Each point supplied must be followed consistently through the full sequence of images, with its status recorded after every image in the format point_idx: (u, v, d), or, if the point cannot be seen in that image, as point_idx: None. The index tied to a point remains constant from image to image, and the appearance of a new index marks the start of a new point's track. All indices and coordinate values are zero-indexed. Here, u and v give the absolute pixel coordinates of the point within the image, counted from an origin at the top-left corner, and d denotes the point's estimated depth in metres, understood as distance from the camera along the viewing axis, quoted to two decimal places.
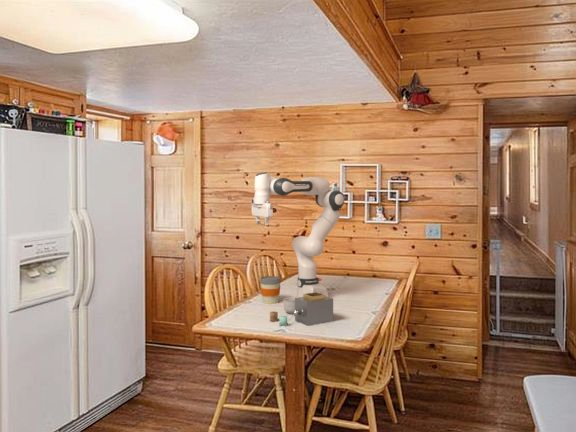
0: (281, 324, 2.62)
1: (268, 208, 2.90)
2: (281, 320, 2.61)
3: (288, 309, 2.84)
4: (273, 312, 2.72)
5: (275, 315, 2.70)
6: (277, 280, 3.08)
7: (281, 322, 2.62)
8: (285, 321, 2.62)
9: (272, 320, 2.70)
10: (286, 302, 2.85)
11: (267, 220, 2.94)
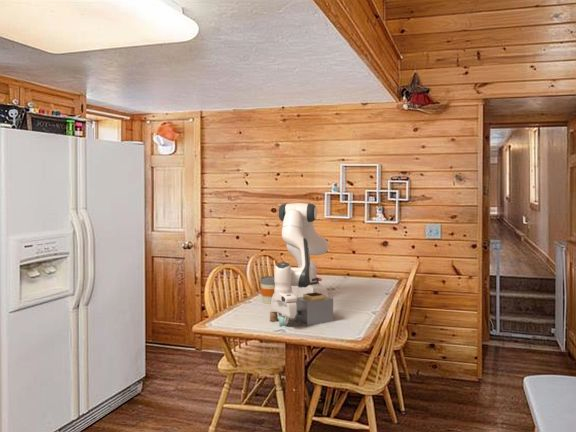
0: (281, 324, 2.62)
1: None
2: (281, 320, 2.61)
3: None
4: (273, 312, 2.72)
5: (275, 315, 2.70)
6: None
7: (281, 322, 2.62)
8: None
9: (272, 320, 2.70)
10: None
11: None
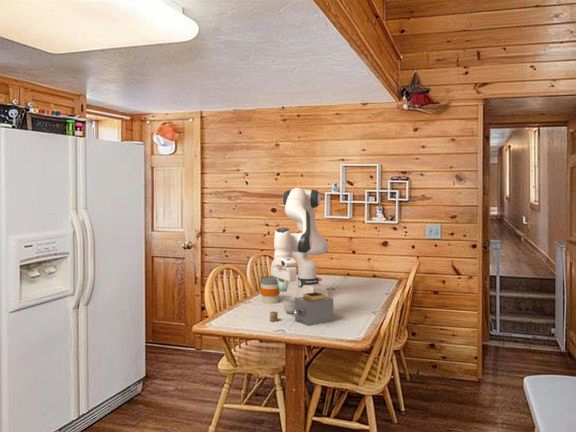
0: (281, 289, 2.60)
1: None
2: (281, 285, 2.60)
3: (288, 309, 2.84)
4: (273, 312, 2.72)
5: (275, 315, 2.70)
6: None
7: (281, 287, 2.60)
8: None
9: (272, 320, 2.70)
10: (286, 302, 2.85)
11: None
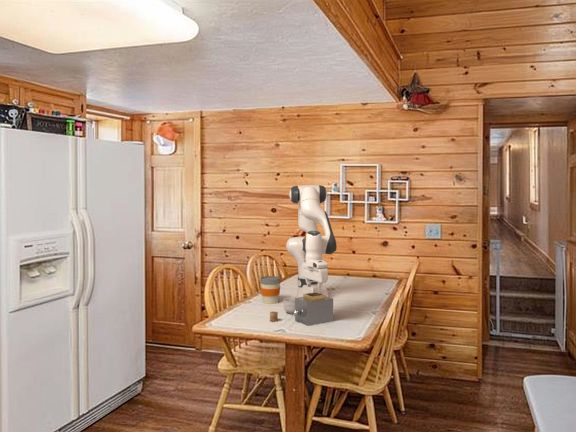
0: None
1: None
2: None
3: (288, 309, 2.84)
4: (273, 312, 2.72)
5: (275, 315, 2.70)
6: (277, 280, 3.08)
7: None
8: None
9: (272, 320, 2.70)
10: (286, 302, 2.85)
11: None
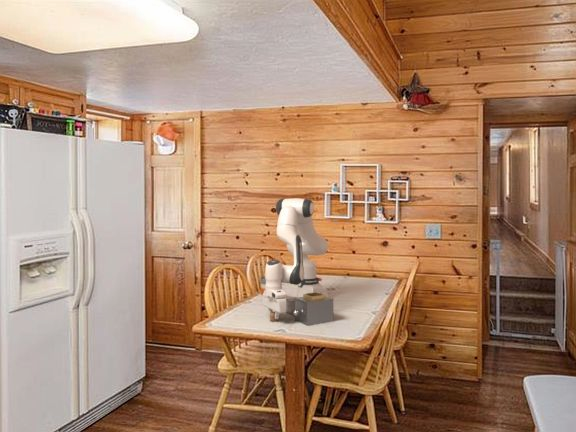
0: None
1: None
2: None
3: (288, 309, 2.84)
4: (273, 312, 2.72)
5: None
6: None
7: None
8: None
9: (272, 320, 2.70)
10: (286, 302, 2.85)
11: None
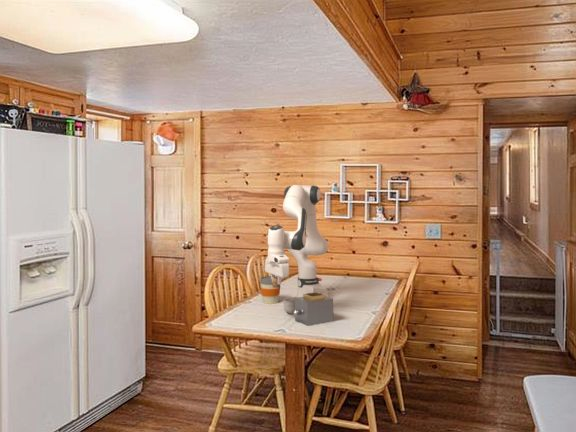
0: None
1: None
2: None
3: (288, 309, 2.84)
4: (276, 278, 2.71)
5: None
6: None
7: None
8: None
9: (275, 286, 2.69)
10: (286, 302, 2.85)
11: None
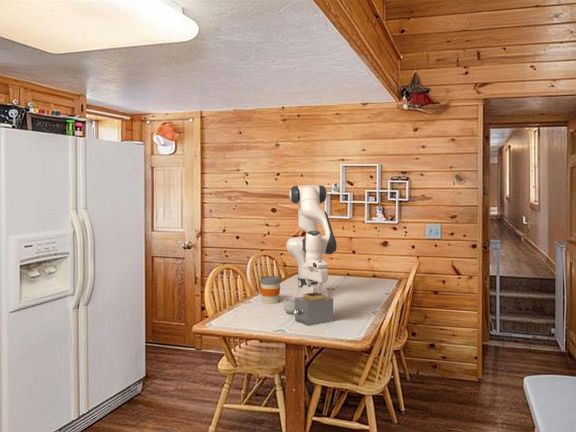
0: None
1: None
2: None
3: (288, 309, 2.84)
4: None
5: None
6: (277, 280, 3.08)
7: None
8: None
9: None
10: (286, 302, 2.85)
11: None
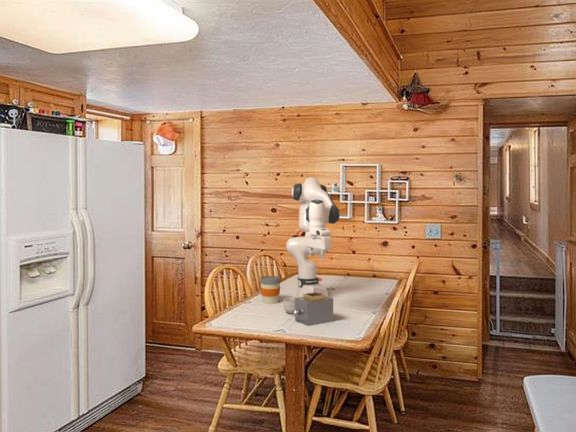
0: None
1: None
2: None
3: (288, 309, 2.84)
4: None
5: None
6: (277, 280, 3.08)
7: None
8: None
9: None
10: (286, 302, 2.85)
11: None
